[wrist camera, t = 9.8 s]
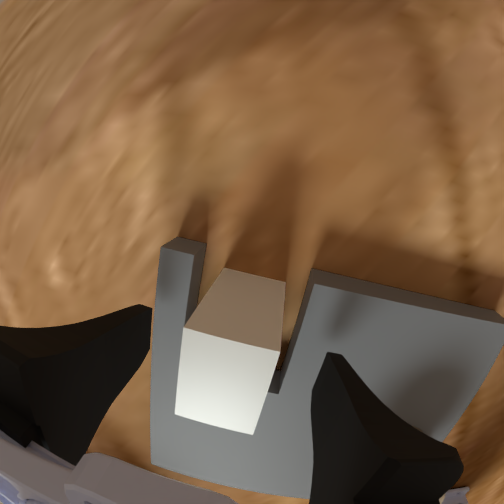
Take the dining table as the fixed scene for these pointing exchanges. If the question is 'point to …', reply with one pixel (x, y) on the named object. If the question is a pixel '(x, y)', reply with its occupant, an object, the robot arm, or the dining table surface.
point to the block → (231, 351)
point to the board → (308, 366)
